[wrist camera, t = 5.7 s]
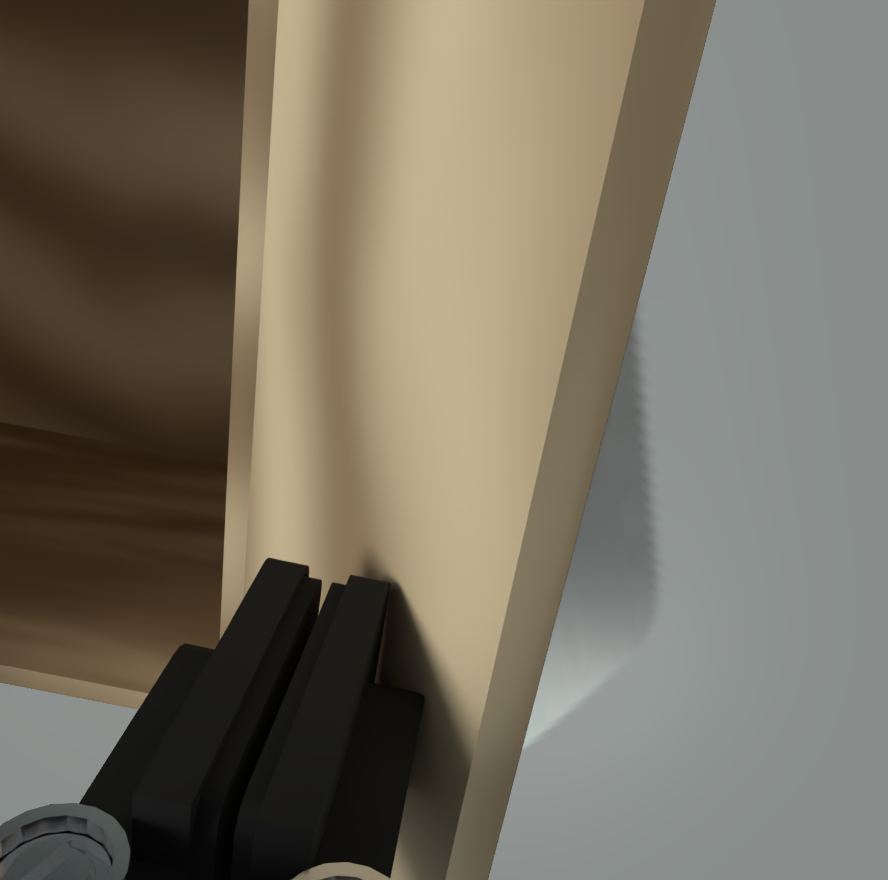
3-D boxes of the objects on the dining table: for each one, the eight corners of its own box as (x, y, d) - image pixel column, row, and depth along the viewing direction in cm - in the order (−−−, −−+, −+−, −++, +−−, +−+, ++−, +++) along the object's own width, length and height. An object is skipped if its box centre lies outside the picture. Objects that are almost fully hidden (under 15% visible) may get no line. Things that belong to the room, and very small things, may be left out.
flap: (368, 1217, 13) (403, 1201, 13) (728, -368, 5) (802, -332, 5) (235, 734, 21) (258, 730, 21) (287, -165, 13) (325, -155, 13)
